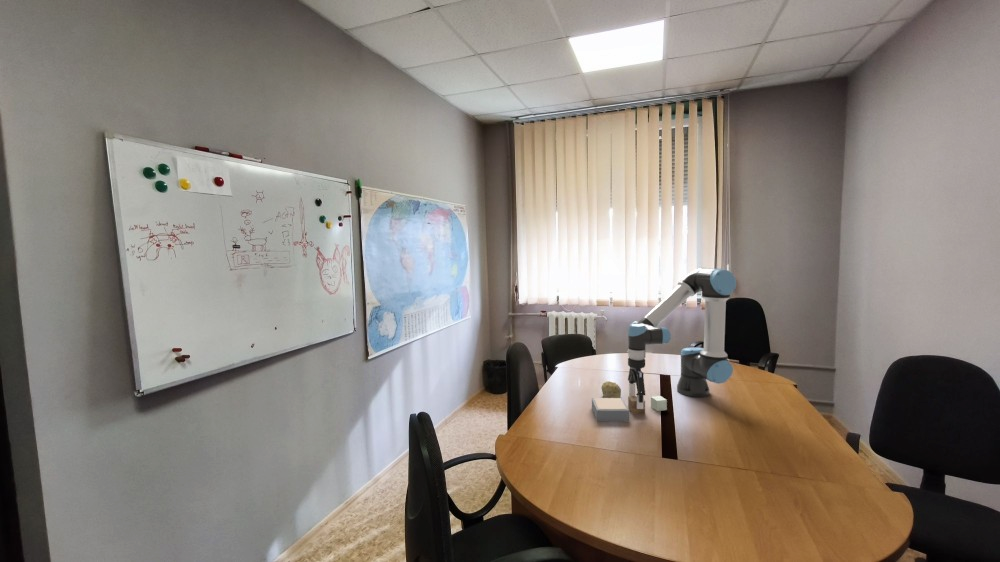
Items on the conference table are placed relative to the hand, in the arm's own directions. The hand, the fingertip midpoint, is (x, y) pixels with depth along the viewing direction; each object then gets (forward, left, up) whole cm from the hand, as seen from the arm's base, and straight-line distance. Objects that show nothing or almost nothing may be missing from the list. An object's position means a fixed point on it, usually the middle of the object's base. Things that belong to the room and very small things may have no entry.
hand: (635, 402), depth 180 cm
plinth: (+13, +4, -4) cm, 14 cm away
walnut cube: (0, 0, -4) cm, 4 cm away
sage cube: (-11, -3, -4) cm, 12 cm away
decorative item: (+8, -17, -4) cm, 19 cm away
